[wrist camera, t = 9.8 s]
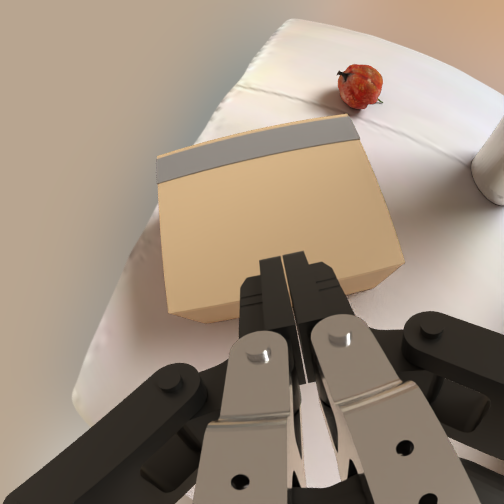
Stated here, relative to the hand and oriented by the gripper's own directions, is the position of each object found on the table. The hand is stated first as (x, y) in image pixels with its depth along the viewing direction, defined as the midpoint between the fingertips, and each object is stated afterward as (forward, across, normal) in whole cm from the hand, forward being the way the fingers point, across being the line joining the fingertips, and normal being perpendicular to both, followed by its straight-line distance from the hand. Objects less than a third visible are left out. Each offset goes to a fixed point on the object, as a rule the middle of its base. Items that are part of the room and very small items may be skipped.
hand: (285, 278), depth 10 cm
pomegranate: (+39, -18, -4) cm, 43 cm away
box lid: (+17, 0, +3) cm, 17 cm away
